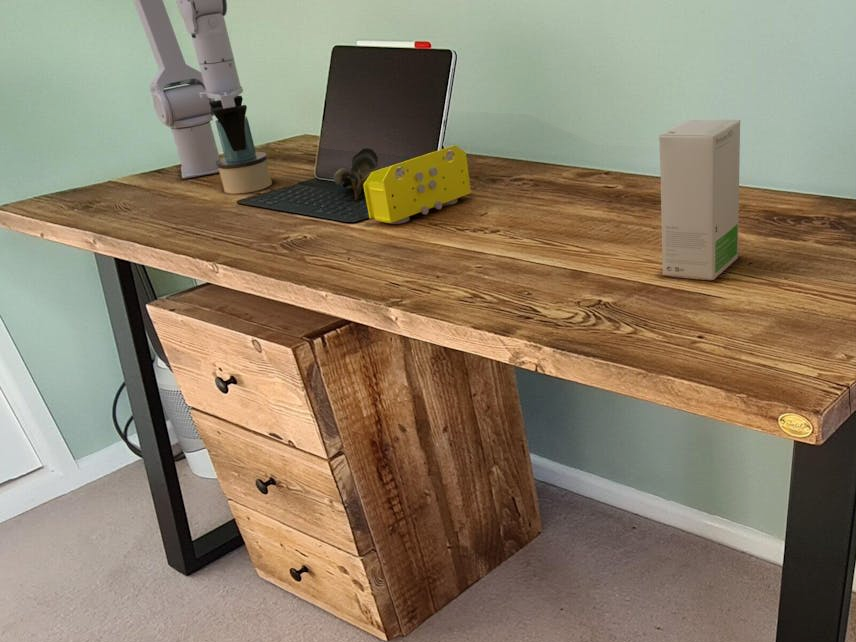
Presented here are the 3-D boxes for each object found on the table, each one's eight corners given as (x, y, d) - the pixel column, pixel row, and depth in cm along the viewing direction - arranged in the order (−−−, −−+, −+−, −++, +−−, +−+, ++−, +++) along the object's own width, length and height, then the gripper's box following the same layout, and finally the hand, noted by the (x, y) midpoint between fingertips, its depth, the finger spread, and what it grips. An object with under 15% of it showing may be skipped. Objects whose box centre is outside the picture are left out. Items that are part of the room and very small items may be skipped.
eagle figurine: (390, 188, 143) (390, 164, 150) (358, 155, 139) (359, 132, 146) (355, 217, 146) (356, 193, 153) (323, 186, 142) (326, 162, 148)
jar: (221, 186, 162) (214, 157, 159) (270, 177, 164) (263, 148, 161) (224, 197, 155) (216, 167, 152) (275, 187, 157) (268, 158, 154)
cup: (224, 157, 158) (214, 119, 155) (255, 152, 159) (245, 114, 156) (226, 163, 154) (216, 124, 150) (257, 158, 155) (248, 118, 152)
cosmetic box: (713, 282, 99) (715, 136, 91) (657, 276, 102) (654, 134, 94) (740, 257, 105) (744, 117, 97) (686, 252, 108) (686, 116, 100)
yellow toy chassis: (394, 229, 128) (383, 169, 124) (369, 223, 132) (358, 165, 127) (473, 198, 138) (466, 142, 133) (448, 194, 141) (441, 139, 137)
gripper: (190, 60, 153) (212, 142, 161) (193, 69, 142) (216, 158, 149) (232, 54, 155) (252, 135, 162) (238, 63, 143) (259, 150, 150)
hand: (237, 145), depth 155 cm, fingers open, 7 cm apart
